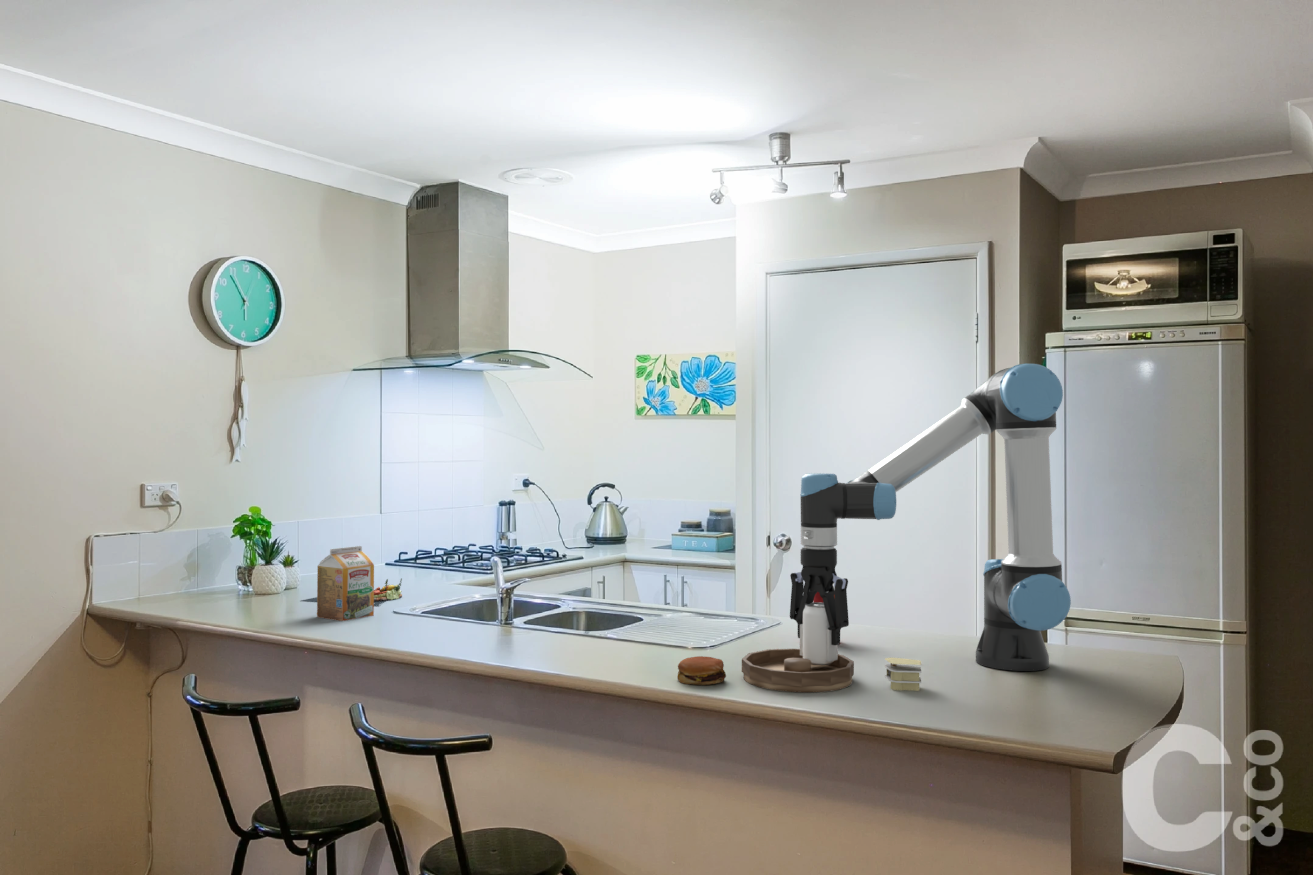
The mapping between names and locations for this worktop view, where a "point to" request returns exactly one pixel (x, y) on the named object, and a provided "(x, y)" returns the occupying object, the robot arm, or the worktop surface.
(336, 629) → the worktop surface
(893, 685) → the yellow layered block
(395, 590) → the plated dish
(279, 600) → the worktop surface
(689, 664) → the burger
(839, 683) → the tray
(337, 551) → the milk carton
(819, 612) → the can
